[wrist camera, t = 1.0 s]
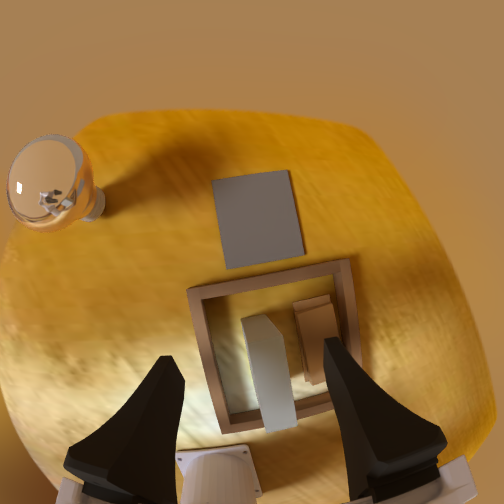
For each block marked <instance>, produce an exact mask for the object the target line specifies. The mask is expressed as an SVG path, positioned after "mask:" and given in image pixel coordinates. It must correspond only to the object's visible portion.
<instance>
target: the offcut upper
mask: <svg viewBox="0 0 504 504" xmlns="http://www.w3.org/2000/svg"><path fill="white" fill-rule="evenodd" d="M294 315H295V319H296V323H297V328H298V332H299V336H300V341H301V345H302V349H303V354H304V358H305V363H306V367H307V372H308V376H309V381H310V383H311V384H312V385H316V384H319V383H322V382H324V381H326V378H325V373H324V368H323V351H324V339H325V338H330V337H335V336H337V337H339V333H338V327H337V322H336V317H335V312H334V308H333V303H330V302H327V303H324V304H321V305H317V306H314V307H311V308H308V309H305V310H302V311H298V312H295V313H294ZM339 339H340V338H339Z"/></svg>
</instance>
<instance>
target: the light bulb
mask: <svg viewBox="0 0 504 504" xmlns="http://www.w3.org/2000/svg"><path fill="white" fill-rule="evenodd" d="M6 191H7V198H8V202H9V206H10V208H11V210H12V212H13V214H14V216H15V217H16V218H17V219H18V221H19V222H20V223H22V224H23V225H24V226H26V227H27V228H29V229H31V230H33V231H37V232H40V233H52V232H56V231H59V230H62V229H65V228H66V227H68V226H70V225H71V224H72V223H73V222H75V221H76V220H79V219H81V220H83V221H86V222H91V221H94V220H96V219H97V218H99V216H100V215H101V214H102V212H103V210H104V208H105V195H104V193H103V191H102V190H101V189H100V188H99V187H97V186H95V184H94V175H93V168H92V164H91V161H90V159H89V157H88V154H87V153H86V152H85V150H84V149H83V148H82V147H81V145H80V144H79V143H77V142H76V141H74V140H73V139H71V138H69V137H66V136H63V135H58V134H53V135H52V134H51V135H45V136H41V137H39V138H37V139H35V140H33V141H31V142H29V143H28V144H27V145H25V146H24V147H23V148H22V149H21V151H20V152H19V153H18V154H17V156H16V157H15V159H14V160H13V162H12V165H11V167H10V170H9V173H8V178H7V184H6Z"/></svg>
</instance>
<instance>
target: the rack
mask: <svg viewBox="0 0 504 504" xmlns="http://www.w3.org/2000/svg"><path fill="white" fill-rule="evenodd" d="M329 274H333V277H334V283H335V290H336V296H337V303H338V310H339V318H340V325H341V333H342V342H343V345H344V346H345V348H346V349H347V350H348V352H349V353H350V354H351V356H352V357H353V358H354V359H355V361H356V362H357V363H358V364H359V365H360V367H361V368H362V354H361V343H360V333H359V323H358V315H357V306H356V299H355V292H354V285H353V278H352V272H351V266H350V260H349V258H347V259H338V260H333V261H328V262H323V263H318V264H314V265H309V266H304V267H299V268H294V269H288V270H283V271H278V272H273V273H268V274H262V275H257V276H252V277H246V278H241V279H236V280H230V281H225V282H219V283H213V284H208V285H202V286H196V287H190V288H188V289H186V291H187V297H188V302H189V307H190V311H191V316H192V321H193V326H194V330H195V335H196V339H197V343H198V348H199V352H200V356H201V360H202V364H203V368H204V372H205V376H206V380H207V384H208V388H209V391H210V395H211V399H212V402H213V406H214V409H215V413H216V416H217V419H218V423H219V426H220V429H221V433H222V434H228V433H235V432H241V431H247V430H253V429H258V428H263V427H265V426H264V422H263V418H262V415H261V411H260V409H258V410H253V411H248V412H242V413H236V414H230V413H229V409H228V406H227V402H226V398H225V394H224V390H223V386H222V382H221V378H220V374H219V370H218V366H217V361H216V357H215V353H214V348H213V344H212V339H211V335H210V330H209V326H208V321H207V316H206V311H205V306H204V301H203V299H207V298H213V297H219V296H224V295H230V294H235V293H241V292H246V291H251V290H257V289H262V288H267V287H272V286H277V285H282V284H287V283H292V282H297V281H301V280H306V279H311V278H316V277H320V276H325V275H329ZM362 369H363V368H362ZM294 405H295V412H296V418H297V420H298V419H302V418H305V417H309V416H312V415H316V414H319V413H323V412H326V411H329V410H332V409H334V406H333V403H332V400H331V397H330V394H329V392H326V393H323V394H320V395H316V396H313V397H309V398H305V399H302V400H298V401H294Z"/></svg>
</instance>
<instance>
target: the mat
mask: <svg viewBox="0 0 504 504" xmlns="http://www.w3.org/2000/svg"><path fill="white" fill-rule="evenodd" d="M212 187H213V193H214V199H215V205H216V211H217V217H218V223H219V229H220V235H221V241H222V247H223V252H224V258H225V263H226V269H232V268H237V267H243V266H248V265H254V264H259V263H265V262H270V261H276V260H281V259H286V258H292V257H297V256H302V255H305V254H304V249H303V244H302V238H301V233H300V228H299V223H298V218H297V213H296V208H295V204H294V199H293V194H292V190H291V185H290V180H289V176H288V172H287V170H281V171H273V172H265V173H258V174H251V175H244V176H237V177H231V178H224V179H218V180H212Z"/></svg>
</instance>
